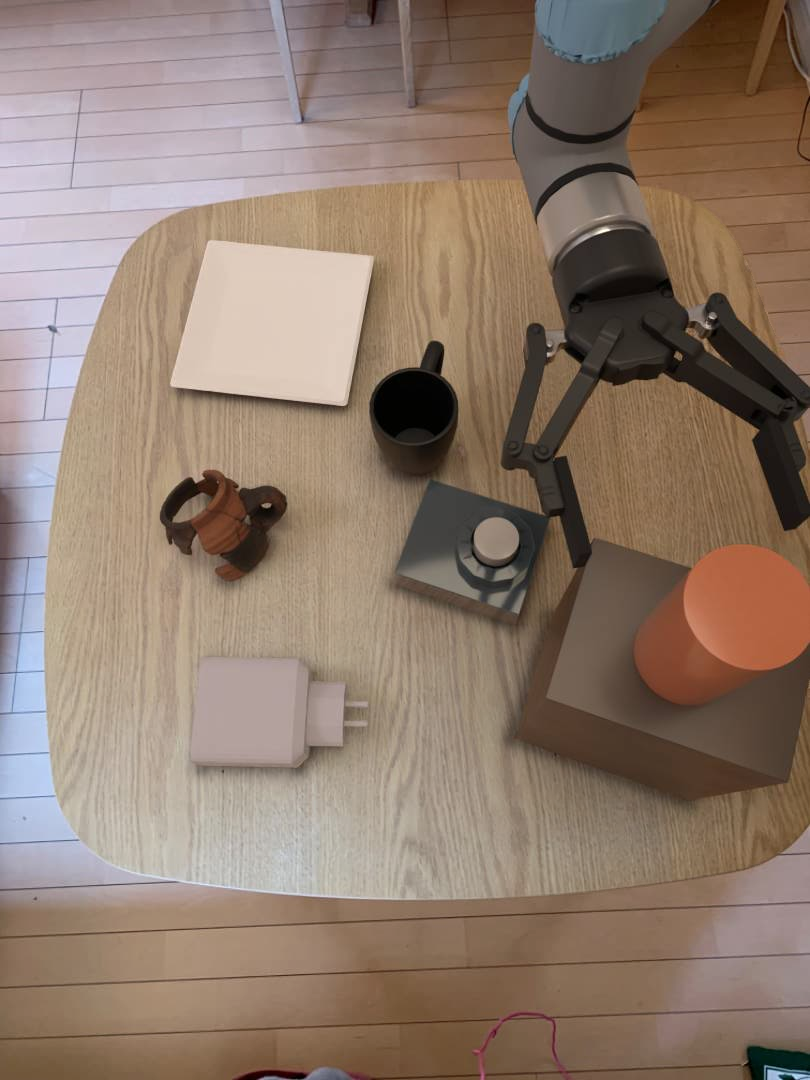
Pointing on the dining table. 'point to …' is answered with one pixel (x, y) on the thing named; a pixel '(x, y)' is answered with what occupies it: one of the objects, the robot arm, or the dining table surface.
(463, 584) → the gray button box
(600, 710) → the stand
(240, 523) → the pottery mug
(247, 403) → the dining table surface
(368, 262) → the plate
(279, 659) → the charger
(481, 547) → the round white push button
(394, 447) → the mug
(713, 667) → the orange cylinder
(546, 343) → the robot arm
